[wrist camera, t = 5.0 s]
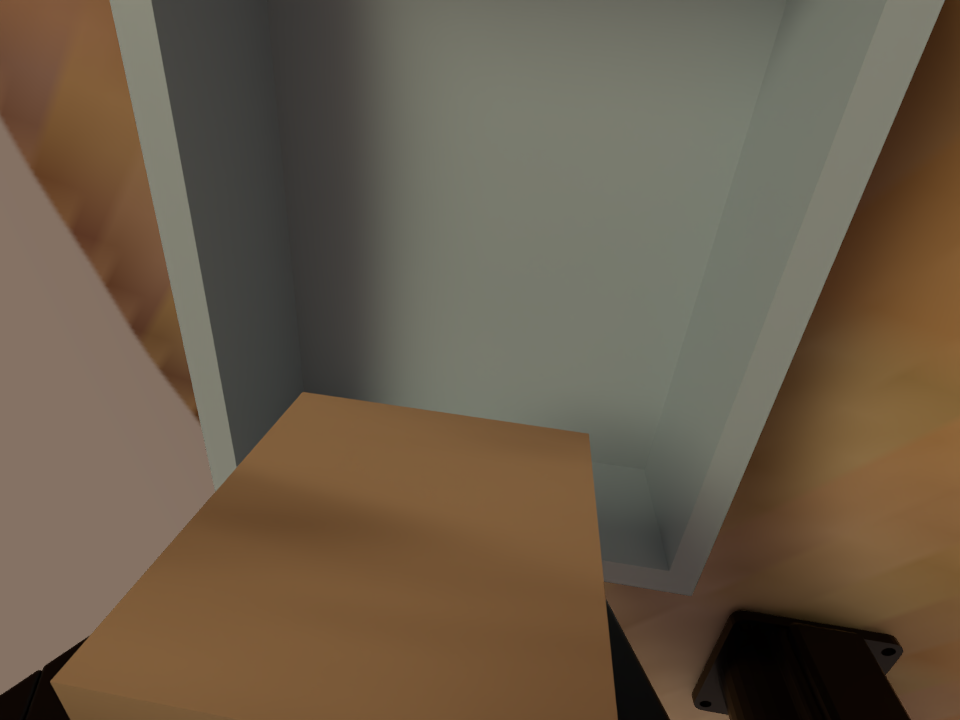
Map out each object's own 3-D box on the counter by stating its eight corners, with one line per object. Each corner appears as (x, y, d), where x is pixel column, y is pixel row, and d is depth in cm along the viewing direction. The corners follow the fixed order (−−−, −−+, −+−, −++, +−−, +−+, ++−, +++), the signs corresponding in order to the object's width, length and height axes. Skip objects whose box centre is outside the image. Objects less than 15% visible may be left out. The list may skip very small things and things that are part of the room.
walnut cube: (545, 624, 11) (539, 987, 6) (321, 583, 11) (167, 899, 7) (588, 433, 8) (626, 797, 4) (302, 391, 9) (49, 681, 4)
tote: (658, 475, 18) (691, 596, 14) (297, 421, 19) (220, 517, 15) (879, -210, 10) (1139, -458, 6) (228, -240, 11) (9, -470, 7)
